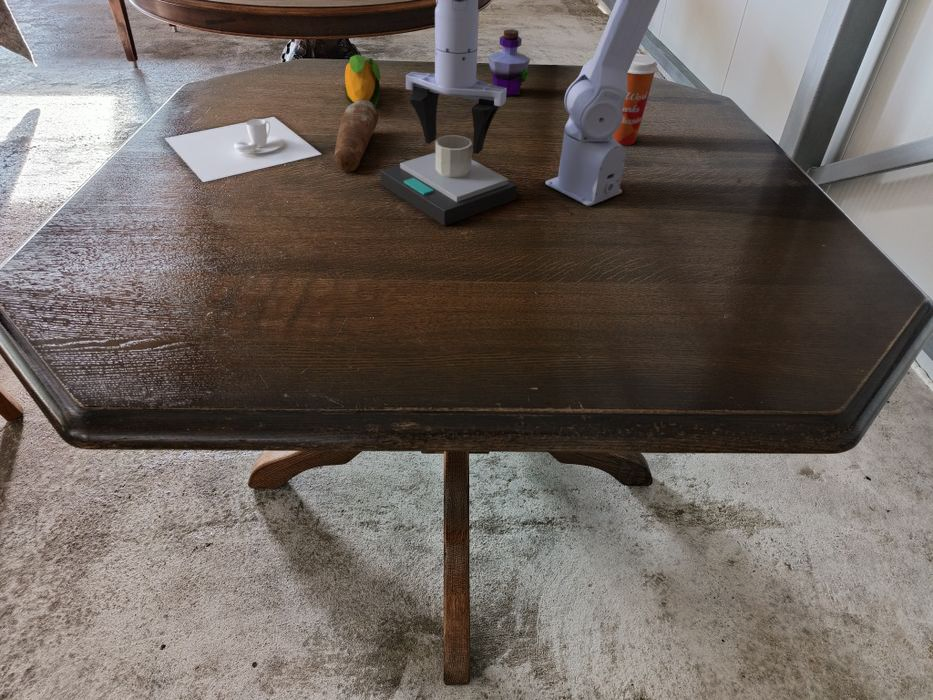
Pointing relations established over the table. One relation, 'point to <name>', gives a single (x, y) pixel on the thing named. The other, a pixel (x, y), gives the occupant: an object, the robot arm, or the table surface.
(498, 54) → the potion bottle
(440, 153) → the white faceted cup
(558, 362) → the table surface
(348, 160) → the brown yam
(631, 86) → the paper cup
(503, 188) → the scale
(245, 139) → the teacup and saucer
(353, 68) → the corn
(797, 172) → the table surface
